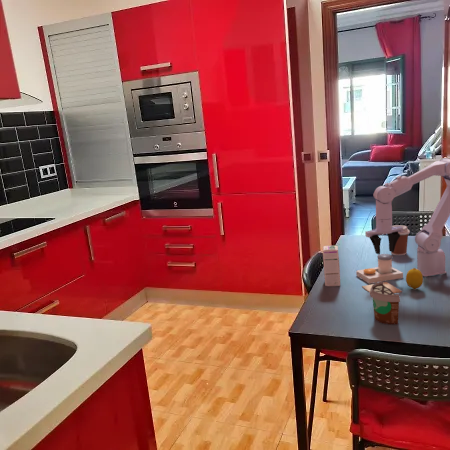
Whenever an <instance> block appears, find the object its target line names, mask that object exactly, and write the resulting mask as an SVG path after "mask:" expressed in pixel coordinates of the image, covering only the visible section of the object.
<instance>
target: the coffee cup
mask: <svg viewBox="0 0 450 450" xmlns="http://www.w3.org/2000/svg"><path fill="white" fill-rule="evenodd" d="M398 226H401V227H403V232H398V233H399V234H400V237H399V239H398V240H397V243H396V245H395V249H394V252H391V251H390V255H392V256H405V254H406V255H407V252H408V239H409V234H410V232H411V231H410V229H408V226H406V225H403V224H402V225H399V224H395V225H392V227H398Z"/></svg>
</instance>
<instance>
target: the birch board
mask: <svg viewBox="0 0 450 450" xmlns="http://www.w3.org/2000/svg"><path fill="white" fill-rule="evenodd" d="M382 282H383V285H384V286H385V287H387V288H389V289H390V290H391V291H392V292H393V293H394V294H395V295H396V294H401V293H402V292H403V291H402V289H399V288H397V287H396V286H394V285H393V284H391V283H389V282H388V281H382ZM373 284H374V283H371V284H367V285H362V286H361V288H362V289H364V290H365V291H367V292H368V293H369V294H370V290H371V287H372V285H373Z"/></svg>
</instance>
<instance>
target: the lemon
mask: <svg viewBox="0 0 450 450" xmlns="http://www.w3.org/2000/svg"><path fill="white" fill-rule="evenodd" d="M423 277H424V276H422V273H421V272H420V271H419V270H418V269H417V267H413V268H411V269H409V270H408V271H407V273H406V276H405V282H406V284H407V286H408V287H409V288H412V289H413V290H414V291H415V290H417V289H419V288H420V287H422V285H423V283H424V278H423Z"/></svg>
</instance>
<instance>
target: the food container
mask: <svg viewBox="0 0 450 450" xmlns="http://www.w3.org/2000/svg"><path fill="white" fill-rule="evenodd" d="M383 282H384V281H382V282H376V283H372V284H373V285H372V284H371V285H372V287H371V290H370V293H369V295H370V297H371V298H372V306H373V307H372V309H373V315H374V319H375V321H376V322H378V323H381V324H384V325H388V326H389V325H392V326H395V325H396V326H397V325H399V312H400V310H399V309H400V302H401V298H400V294H396V293H395V294H394V293H393V292H392V291H391V290H390V289H389V288H387V287H385V286H384V285H383Z"/></svg>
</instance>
